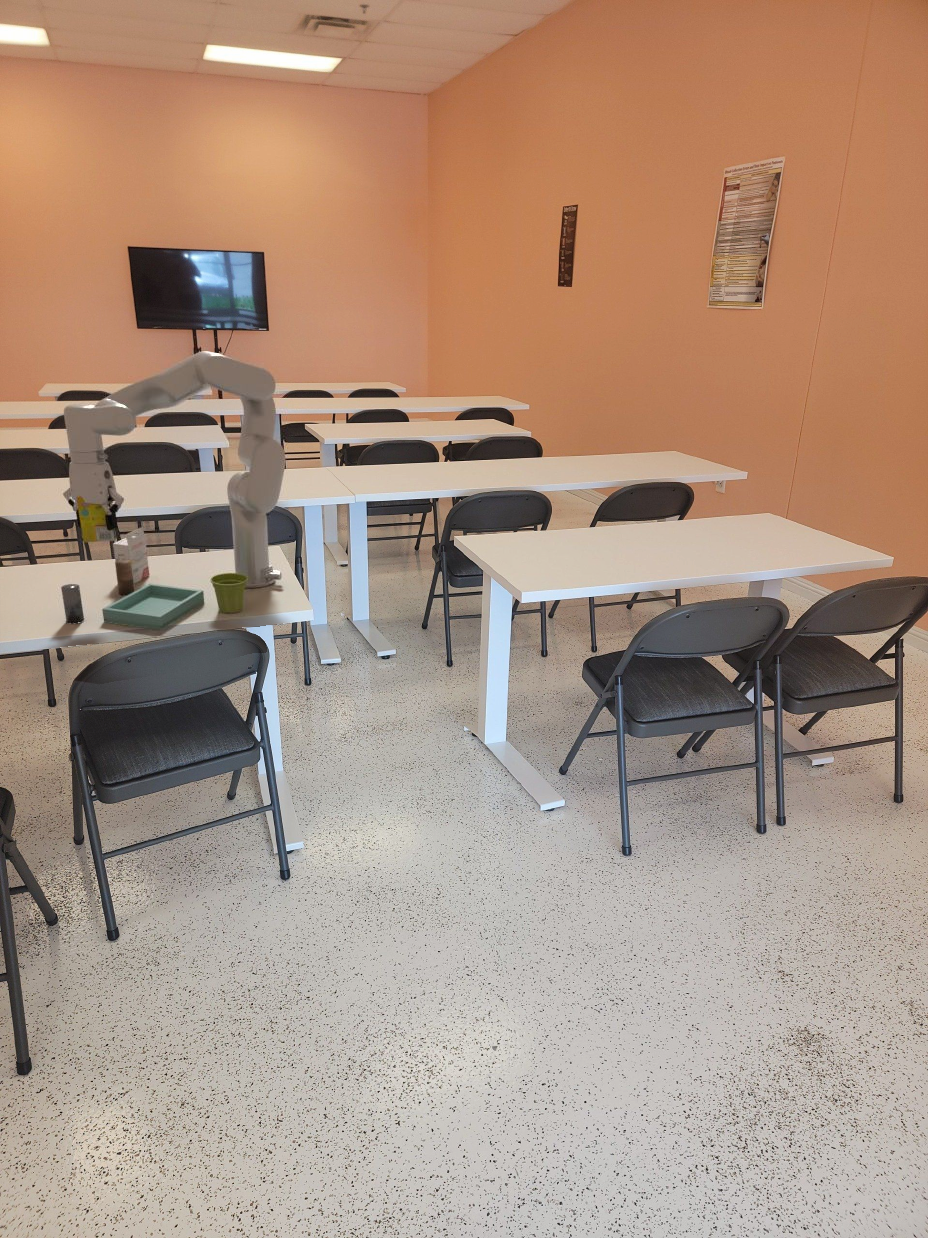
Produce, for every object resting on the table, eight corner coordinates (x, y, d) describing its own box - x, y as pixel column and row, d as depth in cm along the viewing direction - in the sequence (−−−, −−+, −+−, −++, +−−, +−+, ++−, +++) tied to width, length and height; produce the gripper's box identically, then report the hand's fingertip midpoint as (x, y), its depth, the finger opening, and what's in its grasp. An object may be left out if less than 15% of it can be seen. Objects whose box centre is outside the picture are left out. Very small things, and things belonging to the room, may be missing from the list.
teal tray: (204, 602, 213) (203, 590, 212) (161, 630, 195) (160, 616, 194) (150, 595, 216) (149, 583, 215) (103, 622, 198) (102, 608, 197)
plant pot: (233, 600, 216) (231, 570, 212) (257, 609, 211) (255, 578, 208) (205, 610, 209) (202, 578, 205) (228, 619, 204) (226, 587, 200)
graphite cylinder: (87, 618, 200) (82, 585, 196) (77, 624, 196) (71, 590, 193) (73, 616, 200) (68, 583, 197) (62, 622, 197) (57, 588, 193)
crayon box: (116, 538, 203) (110, 493, 199) (114, 541, 201) (108, 495, 196) (85, 539, 201) (78, 494, 197) (83, 542, 199) (75, 496, 194)
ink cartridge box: (134, 573, 232) (128, 524, 227) (150, 575, 231) (144, 526, 226) (117, 583, 224) (110, 532, 219) (133, 585, 223) (127, 534, 218)
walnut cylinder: (137, 591, 219) (134, 560, 215) (128, 596, 215) (125, 564, 212) (124, 590, 219) (121, 558, 216) (115, 594, 216) (111, 563, 212)
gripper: (128, 457, 195) (137, 526, 201) (67, 451, 198) (77, 520, 205) (109, 462, 188) (118, 534, 195) (45, 456, 191) (57, 527, 198)
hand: (97, 526), depth 200 cm, fingers closed on crayon box, 7 cm apart
